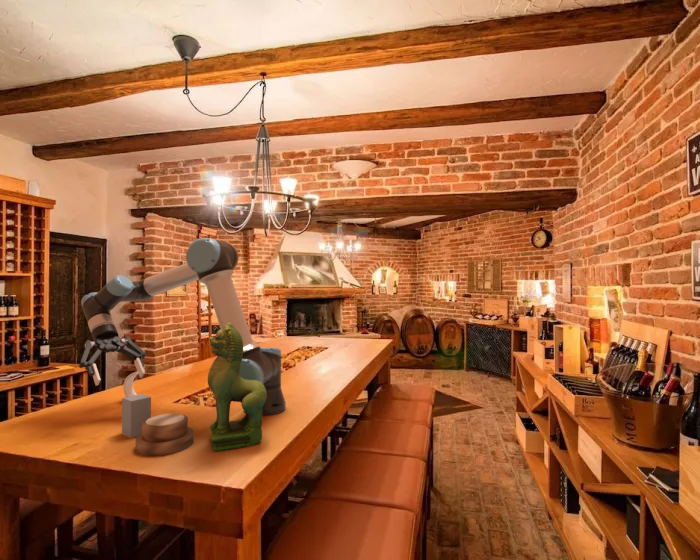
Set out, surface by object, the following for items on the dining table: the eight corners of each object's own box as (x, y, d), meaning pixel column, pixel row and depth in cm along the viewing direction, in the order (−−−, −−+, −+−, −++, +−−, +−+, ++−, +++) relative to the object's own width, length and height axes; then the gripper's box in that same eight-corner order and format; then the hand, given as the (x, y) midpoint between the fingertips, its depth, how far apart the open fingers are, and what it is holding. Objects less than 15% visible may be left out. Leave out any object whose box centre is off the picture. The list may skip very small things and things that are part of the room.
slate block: (141, 428, 127) (142, 393, 128) (150, 432, 124) (151, 396, 124) (121, 433, 123) (122, 397, 123) (130, 438, 119) (130, 401, 119)
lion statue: (206, 437, 120) (206, 321, 120) (261, 429, 126) (261, 319, 127) (208, 454, 107) (209, 325, 108) (269, 445, 114) (270, 323, 114)
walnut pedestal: (200, 434, 122) (200, 410, 122) (181, 455, 107) (181, 427, 107) (150, 435, 121) (150, 411, 121) (124, 456, 106) (125, 428, 106)
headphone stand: (137, 403, 155) (137, 372, 155) (123, 402, 155) (123, 371, 156) (144, 399, 159) (145, 369, 160) (130, 399, 160) (131, 369, 160)
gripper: (136, 333, 151) (155, 378, 141) (58, 340, 131) (74, 393, 122) (143, 320, 148) (162, 365, 138) (64, 325, 128) (80, 378, 119)
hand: (121, 378), depth 130 cm, fingers open, 13 cm apart
